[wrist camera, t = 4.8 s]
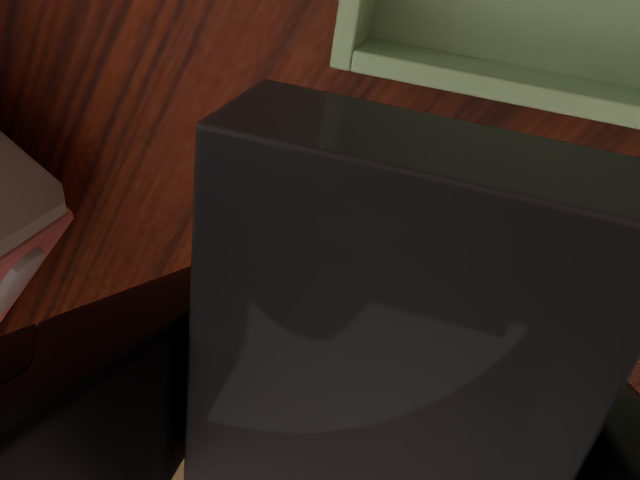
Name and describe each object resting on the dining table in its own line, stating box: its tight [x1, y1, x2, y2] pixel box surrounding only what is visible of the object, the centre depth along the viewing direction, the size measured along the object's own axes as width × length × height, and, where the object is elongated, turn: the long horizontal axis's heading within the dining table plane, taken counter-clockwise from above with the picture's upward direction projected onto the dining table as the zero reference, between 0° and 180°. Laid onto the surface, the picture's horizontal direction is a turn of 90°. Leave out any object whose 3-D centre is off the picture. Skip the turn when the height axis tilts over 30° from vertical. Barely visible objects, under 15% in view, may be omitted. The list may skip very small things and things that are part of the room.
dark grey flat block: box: [184, 79, 640, 480], centre depth 7 cm, size 4×7×2 cm, turn 172°
